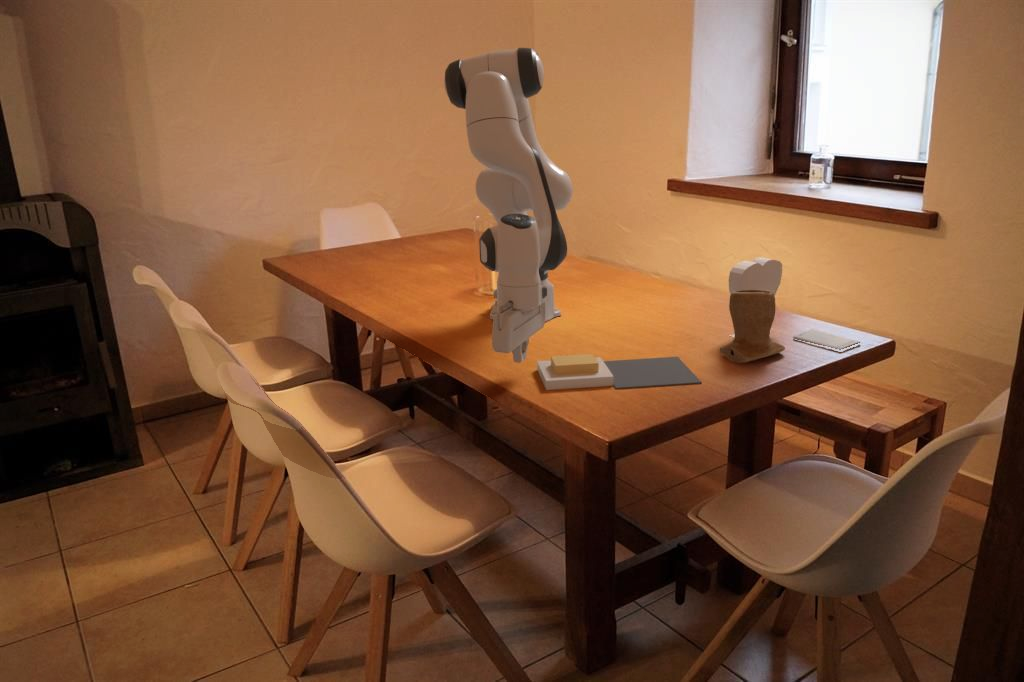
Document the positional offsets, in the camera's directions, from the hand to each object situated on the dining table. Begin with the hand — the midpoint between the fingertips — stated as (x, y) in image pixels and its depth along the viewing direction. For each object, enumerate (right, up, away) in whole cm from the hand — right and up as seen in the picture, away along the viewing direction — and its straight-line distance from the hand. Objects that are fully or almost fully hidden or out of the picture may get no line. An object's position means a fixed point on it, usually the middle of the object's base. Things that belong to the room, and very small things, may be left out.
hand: (519, 360), depth 174 cm
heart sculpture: (+56, +6, +29) cm, 64 cm away
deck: (+11, -4, +3) cm, 13 cm away
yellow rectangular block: (+11, -2, +2) cm, 12 cm away
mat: (+27, -3, +5) cm, 28 cm away
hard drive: (+72, +3, +21) cm, 75 cm away
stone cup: (+51, +1, +14) cm, 53 cm away
